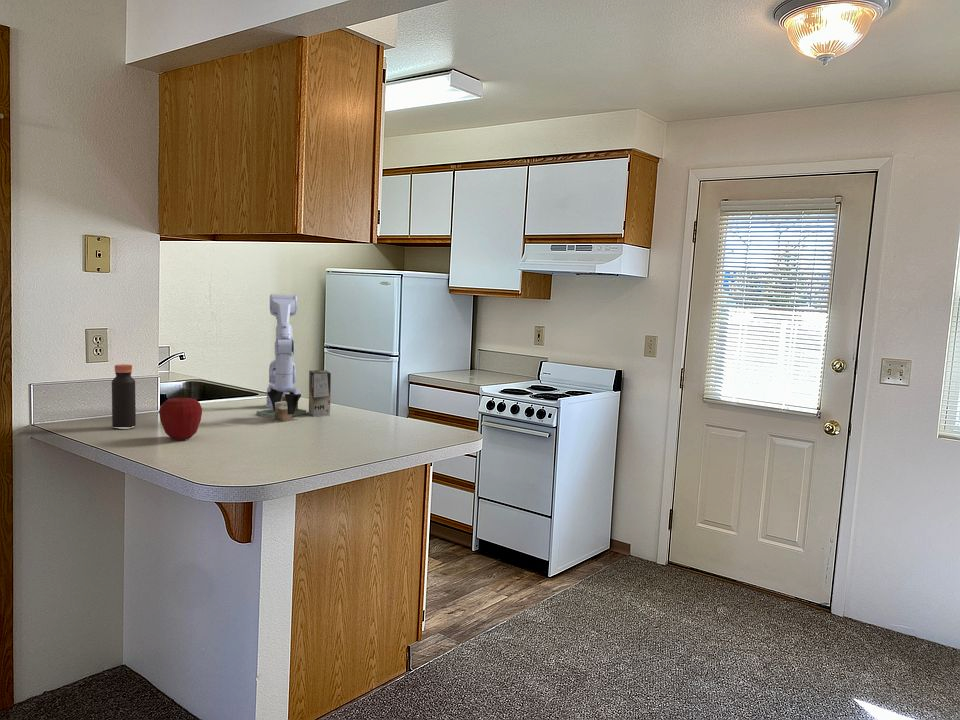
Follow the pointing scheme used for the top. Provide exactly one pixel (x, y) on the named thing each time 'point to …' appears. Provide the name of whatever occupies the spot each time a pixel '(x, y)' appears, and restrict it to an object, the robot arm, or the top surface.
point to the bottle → (123, 397)
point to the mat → (283, 421)
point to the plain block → (286, 401)
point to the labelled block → (282, 411)
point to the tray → (271, 413)
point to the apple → (180, 417)
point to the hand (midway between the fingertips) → (283, 412)
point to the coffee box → (319, 392)
